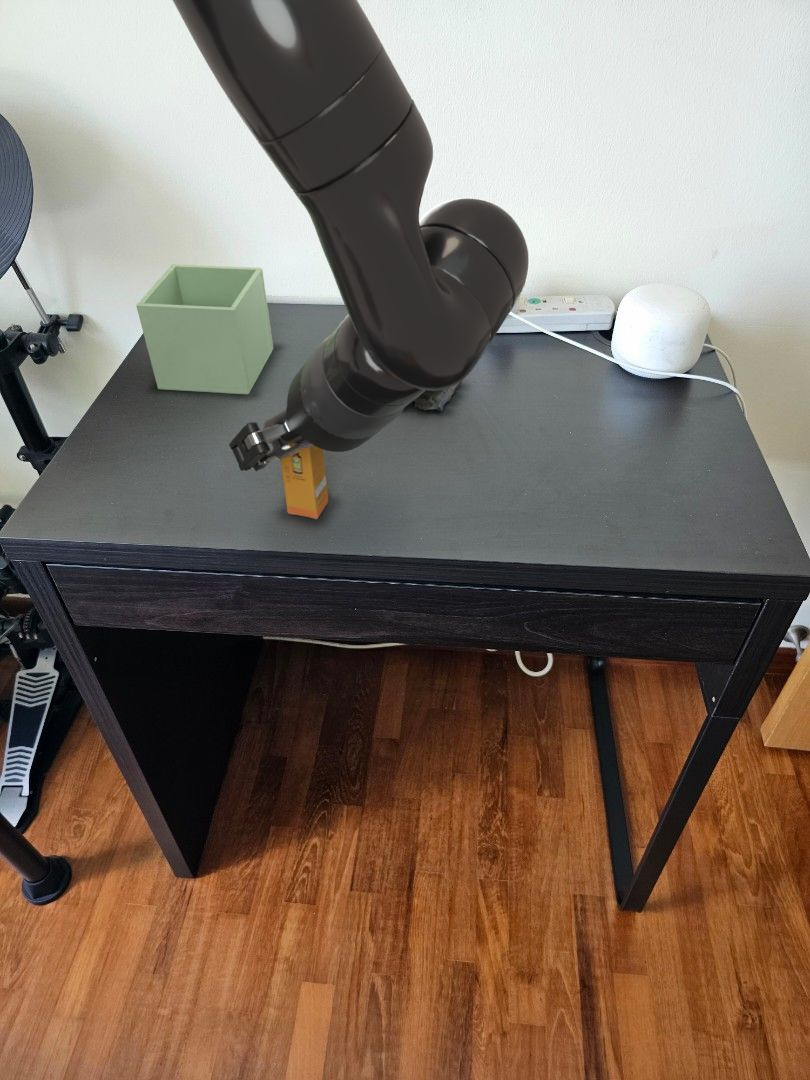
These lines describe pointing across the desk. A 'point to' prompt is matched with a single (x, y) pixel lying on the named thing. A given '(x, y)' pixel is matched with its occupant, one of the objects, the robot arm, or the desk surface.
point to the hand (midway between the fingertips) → (295, 444)
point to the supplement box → (305, 482)
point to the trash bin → (207, 328)
